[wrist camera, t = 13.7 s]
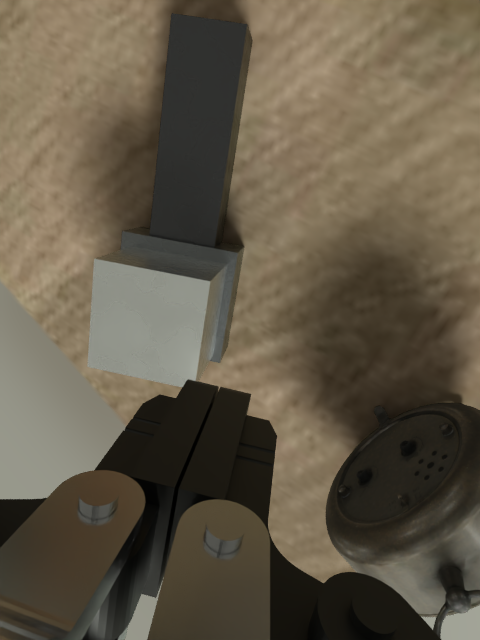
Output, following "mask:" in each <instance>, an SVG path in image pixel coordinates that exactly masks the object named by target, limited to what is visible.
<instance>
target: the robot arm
mask: <svg viewBox="0 0 480 640" xmlns="http://www.w3.org/2000/svg"><path fill="white" fill-rule="evenodd" d="M250 397H251V394H249V393H245V392H240V391H236V390H232V389H228V388H223V387H220V389H219V392H218V386H215V385H210V384H206V383H202V382H198V381H193V380H189V379H188V380H187V381H186V382H185V384H184V386H183V387H182V389H181V391H180V392H179V394H178V396H177V398H172V397H168V396H164V395H158V396H156V397H154V398H152V399H151V400H149V401H147V402H145V403H143V404H142V406H141V407H140V408H139V410H138V411H137V413H136V414H135V415H134V417H133V419H131V421H130V422H129V424H128V425H127V426H126V428H125V431H123V432H122V433H121V435H120V436H119V437H118V439H117V440H116V441H115V443H114V444H113V446H112V447H111V448H110V450H109V451H108V452H107V454H106V455H105V456H104V458H103V459H102V461H101V462H100V463H99V465H98V466H97V467H96V469H95V470H94V471H88V472H84V473H81V474H78V475H75V476H73V477H71V478H69V479H67V480H66V481H64V482H63V483H62V484H60V485H59V486H58V487H57V488H56V489H55V490H54V491H53V492H52V493H51V495H50V496H49V497H48V498H43V499H14V500H13V499H6V500H5V499H3V500H2V499H0V640H125V638H126V633H127V628H128V625H129V623H130V621H131V619H132V616H133V614H134V611H135V609H136V606H137V604H138V601H139V598H140V596H141V594H144V595H148V596H152V597H155V598H156V597H157V594H158V591H159V588H160V585H161V582H162V580H163V582H162V586H161V590H160V593H159V597H158V601H157V605H156V609H155V612H154V616H153V620H152V624H151V627H150V631H149V635H148V639H147V640H441V639H440V638H439V636H438V635H437V634H436V633H435V632H434V631H433V630H432V629H431V628H430V627H429V625H428V624H427V623H426V622H425V621H424V620H423V619H422V618H421V616H420V615H419V614H418V613H417V612H416V611H415V610H414V609H413V608H412V607H411V605H410V604H409V603H408V602H407V601H406V600H405V599H404V598H403V597H402V596H401V595H400V594H399V593H398V592H396V591H395V590H394V589H393V588H392V587H390V586H389V585H387V584H385V583H384V582H382V581H380V580H378V579H376V578H374V577H372V576H369V575H366V574H362V573H356V572H345V573H340V574H336V575H334V576H332V577H331V578H329V579H328V580H327V581H326V582H325V583H322V582H320V581H319V580H317V579H315V578H313V577H312V576H310V575H308V574H306V573H305V572H303V571H301V570H300V569H298V568H297V567H295V566H294V565H292V564H291V563H290V562H289V561H288V560H287V559H286V558H285V557H284V556H283V555H282V554H281V553H280V552H279V551H278V549H277V548H276V546H275V545H274V543H273V541H272V539H271V536H270V534H269V529H268V515H269V505H270V496H271V486H272V477H273V466H274V458H275V449H276V439H277V435H276V433H275V431H274V429H273V427H272V425H271V423H270V421H269V420H264V419H260V418H256V417H252V416H248V415H247V411H248V407H249V402H250ZM163 577H164V578H163Z"/></svg>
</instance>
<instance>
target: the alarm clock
mask: <svg viewBox="0 0 480 640" xmlns="http://www.w3.org/2000/svg"><path fill="white" fill-rule="evenodd" d="M374 412H375V415H376V416H377V419H378V421H379V424H380V426H379V428H378V429H377V430H375V431H374V432H373V433H371V434H370V435H369V436H368V437H367V438H366V439H365V440H363V441H362V442H361V443H360V444H359V445H358V446H357V447H356V448H355V449H354V451H353V452H352V453H351V454H350V455H349V457H348V458H347V459H346V461H345V462H344V464H343V465H342V466H341V468H340V470H339V471H338V473H337V475H336V477H335V479H334V481H333V483H332V486H331V488H330V492H329V495H328V499H327V505H326V525H327V530H328V534H329V536H330V539H331V542H332V543H333V545H334V547H335V548H336V550H337V551H338V552H339V553H340V554H341V556H342V557H343V558H344V559H345V560H346V561H347V562H348V563H349V564H350V566H351V567H352V568H353V569H354V570H355V571H356V572H357V573H362V574H366V575H369V576H372V577H374V578H376V579H378V580H380V581H382V582H384V583H385V584H387V585H389V586H390V587H392V588H393V589H394V590H395V591H396V592H398V593H399V594H400V595H401V596H402V597H403V598H404V599H405V600H406V601H407V602H408V603H409V604H410V605H411V607H412V608H413V609H414V610H415V611H416V612H417V613H418V614H419V615H420V616H422V617H436V621H435V625H434V628H433V631H434V632H435V633H436V634H437V635H438V636H439V638H440V633H441V626H442V622H443V620H444V618H445V617H446V616H447V615H453V614H456V613H466V612H467V611H468V610H469V609H471V608H474V607H476V606H479V605H480V410H478V409H476V408H473V407H471V406H467V405H464V404H456V403H438V404H431V405H426V406H422V407H419V408H416V409H413V410H410V411H408V412H405V413H403V414H401V415H399V416H397V417H395V418H393V419H390V418H389V417H388V415H387V413H386V411H385V409H384V408H383V407H381V406H377V407H375V409H374Z"/></svg>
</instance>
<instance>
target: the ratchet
mask: <svg viewBox="0 0 480 640" xmlns="http://www.w3.org/2000/svg"><path fill="white" fill-rule="evenodd" d="M251 47H252V37H251V34H250V31H249V28H248V25H247V24H242V23H235V22H228V21H221V20H214V19H207V18H200V17H194V16H187V15H180V14H173V13H172V15H171V25H170V35H169V45H168V55H167V65H166V75H165V85H164V95H163V105H162V115H161V125H160V135H159V145H158V155H157V165H156V175H155V185H154V195H153V205H152V215H151V225H150V229H148V228H143V227H138V228H134V229H129V230H125V231H122V241H121V250H122V249H125V248H128V247H131V246H136V247H141V248H146V249H151V250H157V251H162V252H167V253H172V254H177V255H183V256H188V257H193V258H198V259H203V260H209V261H214V262H219V263H224V264H227V270H226V276H225V283H224V289H223V295H222V302H221V308H220V314H219V320H218V327H217V333H216V339H215V346H214V352H213V356H212V358H211V360H210V361H213V362H218V363H220V362H221V359H222V357H223V355H224V353H225V351H226V349H227V346H228V341H229V335H230V329H231V323H232V317H233V311H234V305H235V299H236V293H237V287H238V281H239V276H240V270H241V264H242V258H243V252H244V246H239V245H234V244H228V243H223V242H222V237H223V230H224V224H225V217H226V211H227V204H228V198H229V191H230V185H231V178H232V172H233V165H234V158H235V152H236V145H237V139H238V132H239V126H240V119H241V112H242V106H243V99H244V93H245V86H246V80H247V73H248V66H249V60H250V53H251Z"/></svg>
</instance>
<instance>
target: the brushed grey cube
mask: <svg viewBox="0 0 480 640" xmlns="http://www.w3.org/2000/svg"><path fill="white" fill-rule="evenodd" d="M226 270H227V264H224V263H219V262H214V261H209V260H203V259H198V258H193V257H188V256H183V255H177V254H172V253H167V252H162V251H157V250H151V249H146V248H141V247H136V246H131V247H128V248H125V249H122V250H119V251H116V252H113V253H110V254H107V255H104V256H101V257H98V258H95V259H94V271H93V287H92V304H91V320H90V336H89V352H88V367H91V368H96V369H100V370H105V371H109V372H114V373H119V374H123V375H128V376H133V377H137V378H142V379H146V380H151V381H156V382H160V383H165V384H169V385H174V386H179V387H183V386H184V384H185V382H186V381H187V380H188V379H189V380H193V381H198V382H199V380H200V378H201V376H202V374H203V373H204V371H205V369H206V367H207V365H208V363H209V361H210V360H211V358H212V356H213V352H214V346H215V339H216V333H217V327H218V320H219V314H220V308H221V302H222V295H223V289H224V283H225V276H226Z"/></svg>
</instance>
